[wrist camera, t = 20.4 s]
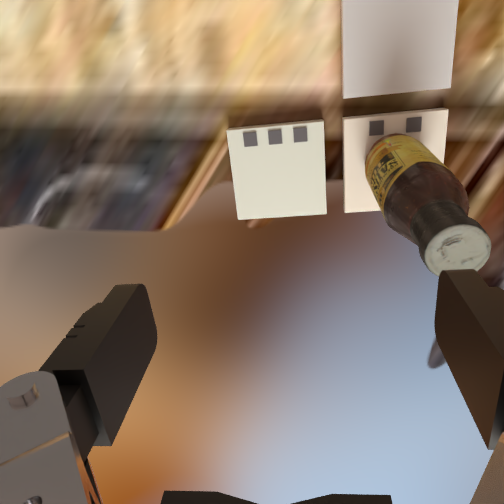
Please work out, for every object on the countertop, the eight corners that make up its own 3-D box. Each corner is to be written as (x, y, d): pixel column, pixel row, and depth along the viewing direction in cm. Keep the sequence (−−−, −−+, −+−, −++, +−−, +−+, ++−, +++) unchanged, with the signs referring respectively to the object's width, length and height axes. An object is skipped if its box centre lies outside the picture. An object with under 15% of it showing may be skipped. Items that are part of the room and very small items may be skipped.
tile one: (340, -19, 38) (342, -22, 37) (456, -35, 37) (462, -38, 36) (342, 96, 43) (343, 98, 41) (445, 86, 41) (451, 88, 40)
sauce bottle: (365, 131, 43) (415, 194, 25) (429, 131, 42) (526, 196, 24) (358, 193, 45) (399, 289, 28) (418, 194, 45) (498, 293, 27)
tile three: (228, 128, 45) (226, 131, 44) (322, 119, 44) (323, 121, 42) (239, 214, 49) (237, 220, 48) (325, 209, 48) (326, 214, 47)
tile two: (342, 117, 44) (344, 119, 42) (443, 107, 42) (449, 110, 41) (343, 207, 48) (345, 213, 46) (435, 201, 47) (440, 207, 45)
